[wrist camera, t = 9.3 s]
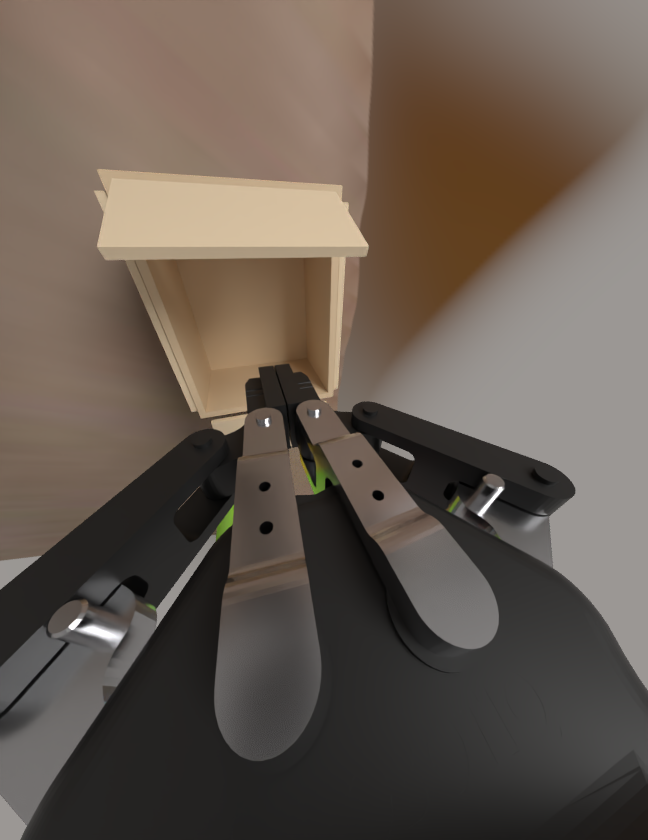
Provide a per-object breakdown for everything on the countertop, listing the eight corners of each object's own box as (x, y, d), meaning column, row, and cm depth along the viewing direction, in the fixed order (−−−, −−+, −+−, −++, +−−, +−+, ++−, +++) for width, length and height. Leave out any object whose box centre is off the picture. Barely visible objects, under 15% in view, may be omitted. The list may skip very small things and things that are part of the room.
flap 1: (111, 178, 12) (97, 246, 9) (335, 191, 15) (368, 246, 12) (118, 191, 12) (105, 260, 10) (334, 201, 15) (366, 256, 13)
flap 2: (211, 423, 23) (226, 459, 27) (327, 403, 26) (324, 439, 30) (211, 420, 23) (226, 456, 27) (325, 400, 26) (323, 436, 30)
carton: (138, 191, 19) (82, 168, 12) (311, 199, 23) (350, 186, 15) (203, 373, 30) (194, 420, 22) (314, 360, 33) (338, 396, 26)
